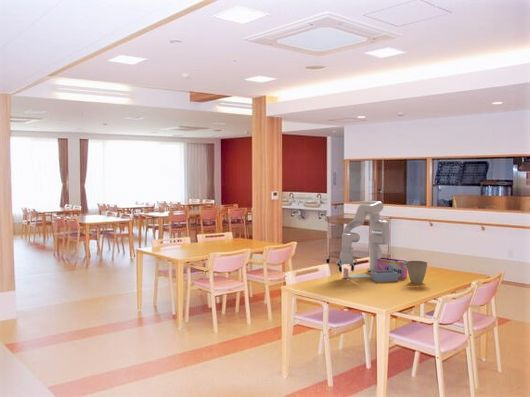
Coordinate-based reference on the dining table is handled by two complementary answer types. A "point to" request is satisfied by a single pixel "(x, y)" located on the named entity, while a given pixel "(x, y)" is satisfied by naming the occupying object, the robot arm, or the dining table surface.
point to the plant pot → (416, 271)
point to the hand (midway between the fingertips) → (346, 271)
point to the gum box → (393, 266)
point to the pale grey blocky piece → (354, 275)
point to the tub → (384, 276)
